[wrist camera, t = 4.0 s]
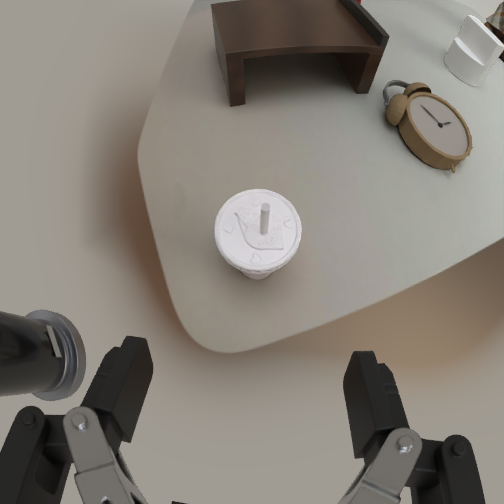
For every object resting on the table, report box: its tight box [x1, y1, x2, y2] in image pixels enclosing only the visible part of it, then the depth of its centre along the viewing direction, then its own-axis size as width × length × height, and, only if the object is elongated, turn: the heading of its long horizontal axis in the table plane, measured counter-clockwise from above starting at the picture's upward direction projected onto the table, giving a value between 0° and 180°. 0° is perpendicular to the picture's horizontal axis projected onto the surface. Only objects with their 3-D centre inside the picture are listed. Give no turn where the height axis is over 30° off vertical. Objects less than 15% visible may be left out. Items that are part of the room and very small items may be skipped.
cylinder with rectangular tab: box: [444, 15, 504, 87], centre depth 36 cm, size 9×9×12 cm
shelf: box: [211, 0, 390, 106], centre depth 35 cm, size 20×14×11 cm
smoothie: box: [214, 189, 301, 280], centre depth 25 cm, size 6×6×14 cm
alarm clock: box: [383, 80, 472, 173], centre depth 35 cm, size 11×5×15 cm
